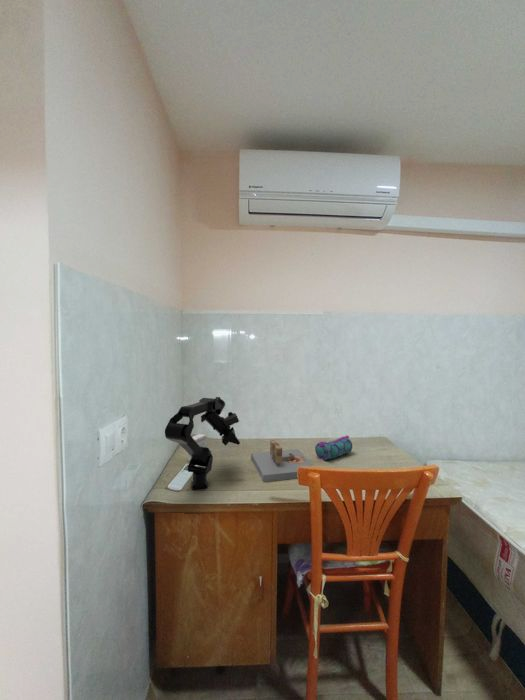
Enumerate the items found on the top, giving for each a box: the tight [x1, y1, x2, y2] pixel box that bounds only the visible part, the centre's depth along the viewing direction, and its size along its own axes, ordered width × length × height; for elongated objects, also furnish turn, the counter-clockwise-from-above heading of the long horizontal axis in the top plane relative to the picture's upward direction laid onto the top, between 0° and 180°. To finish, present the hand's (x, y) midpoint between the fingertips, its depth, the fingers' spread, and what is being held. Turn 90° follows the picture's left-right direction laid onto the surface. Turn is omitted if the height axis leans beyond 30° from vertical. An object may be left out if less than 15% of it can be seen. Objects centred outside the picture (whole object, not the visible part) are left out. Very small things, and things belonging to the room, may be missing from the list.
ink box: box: [187, 433, 208, 462], centre depth 141 cm, size 9×5×12 cm, turn 149°
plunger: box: [269, 439, 294, 464], centre depth 135 cm, size 11×10×8 cm
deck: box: [250, 448, 315, 483], centre depth 135 cm, size 24×26×3 cm
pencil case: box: [314, 435, 353, 461], centre depth 149 cm, size 21×9×10 cm, turn 124°
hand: (239, 443), depth 128 cm, fingers closed
